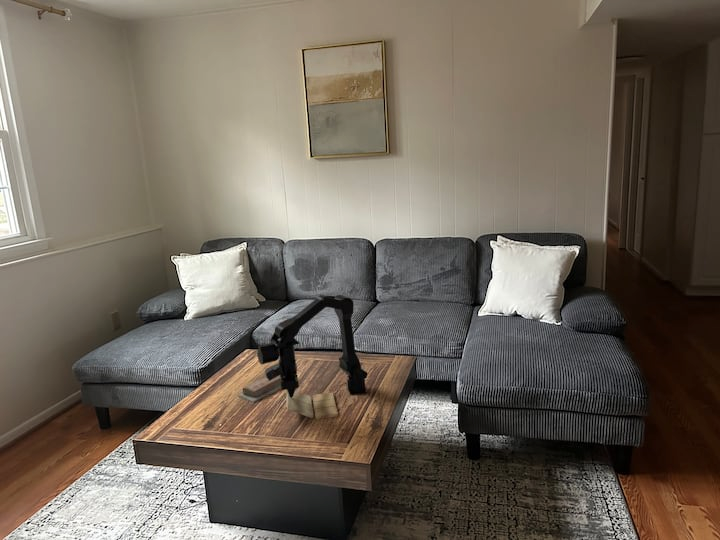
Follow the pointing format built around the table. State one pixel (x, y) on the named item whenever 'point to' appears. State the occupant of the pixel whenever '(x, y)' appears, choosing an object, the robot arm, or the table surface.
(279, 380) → the packaged product
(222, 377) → the table surface
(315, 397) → the laid board
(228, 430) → the table surface
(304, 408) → the beige grooved panel
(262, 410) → the table surface
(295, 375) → the robot arm
